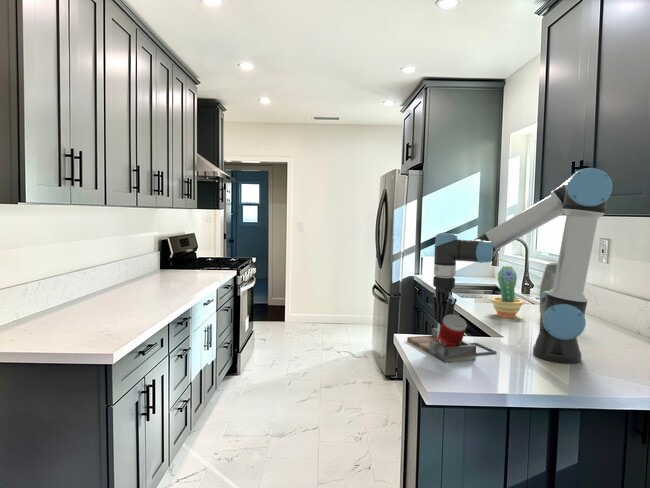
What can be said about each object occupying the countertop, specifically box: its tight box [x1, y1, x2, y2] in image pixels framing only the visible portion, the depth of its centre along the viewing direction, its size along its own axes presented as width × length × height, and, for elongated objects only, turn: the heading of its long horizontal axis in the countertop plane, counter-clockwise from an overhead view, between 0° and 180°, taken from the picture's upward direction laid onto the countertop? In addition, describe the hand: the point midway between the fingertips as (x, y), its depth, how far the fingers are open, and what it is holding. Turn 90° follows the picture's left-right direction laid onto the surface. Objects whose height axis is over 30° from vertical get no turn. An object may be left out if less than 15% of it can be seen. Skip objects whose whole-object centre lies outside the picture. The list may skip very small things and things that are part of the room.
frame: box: [468, 342, 497, 356], centre depth 159 cm, size 12×10×1 cm
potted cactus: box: [490, 265, 525, 319], centre depth 216 cm, size 15×15×25 cm
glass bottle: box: [539, 262, 558, 313], centre depth 207 cm, size 10×10×28 cm
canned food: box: [437, 314, 468, 347], centre depth 150 cm, size 8×8×11 cm
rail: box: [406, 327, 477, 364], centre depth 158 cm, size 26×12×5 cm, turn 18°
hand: (441, 340), depth 157 cm, fingers closed
